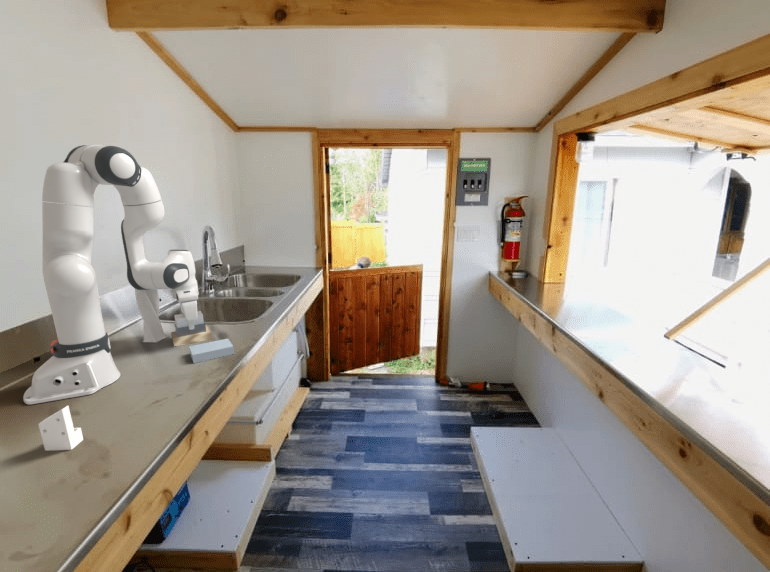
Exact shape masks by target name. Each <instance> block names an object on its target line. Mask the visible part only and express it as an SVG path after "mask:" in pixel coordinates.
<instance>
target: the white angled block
mask: <svg viewBox="0 0 770 572" xmlns="http://www.w3.org/2000/svg"><path fill="white" fill-rule="evenodd" d="M70 411H71V410H70V406H69V405H66V406H65V407H63V408H61V409H60V410H57V411H56V412H55V413H53V414H51V415H49V416H48V417H46V418H45V419H43V420H42V421H40V422H39V423H37V424H38V429H39V433H40V436H41V440H42V443H43V448H44V451H45V452H46V451H48V452H49V451H69V450H70V451H71V450H73V449H74V448H76V447H77V446H78V445H79V444H80V443H81V442H83V441H84V437H83V432H82V427H74V423H73V418H72V415H71V412H70Z"/></svg>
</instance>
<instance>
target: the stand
mask: <svg viewBox="0 0 770 572" xmlns="http://www.w3.org/2000/svg"><path fill="white" fill-rule="evenodd" d="M188 348H189V350H188V351H189V355H190V357H191V360H192V362H193V364H198V363H201V362H206V360H207V361H211V360H215V359H220V358H224V357H227V356H228V355H229V356H233V355H235V347H234V345H233V343H232V342H231V341H230V339H229V338H224V339H218V340H214V341H209V342H204V343H199V344H195V345H190V346H188ZM232 354H233V355H232ZM223 356H224V357H223ZM219 357H220V358H219ZM214 358H215V359H214ZM210 359H211V360H210Z"/></svg>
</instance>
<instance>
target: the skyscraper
mask: <svg viewBox="0 0 770 572" xmlns="http://www.w3.org/2000/svg"><path fill="white" fill-rule="evenodd" d="M134 294H135V301H136V305H137V309H138V311H139V314H140V316H141V318H142V321H143V339H142V340H141V341H140V343H147V344H149V343H151V344H153V343H154V344H157V343H159V342H161V341H163V340H164V339H167V338H168V337H169V335H165V332H164V328H163V326H162V323H161V321H160V317H159V315H160V304H161V303H160V293H159V289H149V290H137V289H135V288H134Z"/></svg>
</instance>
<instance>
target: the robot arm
mask: <svg viewBox="0 0 770 572" xmlns="http://www.w3.org/2000/svg"><path fill="white" fill-rule="evenodd" d="M45 171H46V172H45V175H44V179H43V187H42V198H41V200H42V203H41V204H42V205H41V206H42V207H41V209H42V217H41V218H42V274H43V275H42V277H43V281H44V286H45V291H46V294H47V298H48V302H49V308H50V312H51V315H52V318H53V324H54V328H55V333H56V336H57V339H54V340H52V341H51V342H50V352H51V355H52V356H51V357H50V358H48V359H47V360H46V361H45V362H44V363H43V364H41V366H39V367H38V368H37V369H36V370H35V372H34V373H33V376H32V379H31V385H30V386H29V387H28V388H27V389H26V391H24V394H23V396H22V397H23V398H22V399H23V402H24V404H25V405H28V406H29V405H35V404H42V403H47V402H48V403H49V402H53V401H59V400H65V399H66V400H67V399H69V398H78V397H83V396H88V395H92V394H94V393H96V392H97V391H99V390H101V389H102V388H105V387H107V386H109V385H111V384H113V383H114V382H116V381H117V380H119V378H120V377H121V376H122V375H121V371H119V369H118V368H117V366H116V363H115V361H114V358H113V356H112V353H111V350H112V349H111V348H112V347H111V341H110V337H109V335H108V332H106V329H105V323H104V319H103V318H104V317H103V315H102V314H103V313H102V309H101V301H100V299H101V298H100V293H99V286H98V280H97V274H96V270H95V269H94V267H93V266H92V259H93V257H92V256H93V243H94V242H93V241H94V235H95V232H94V231H95V202H94V201H95V198H94V195H95V191H96V189H97V187H98V186H99V185H103V186H111V185H112V186H113V187H114V188H115V189H116V190H117V192H118V194H119V196H120V200H121V203H122V206H123V212H124V217H123V220H122V221H121V224H120V231H121V233H120V234H121V239H122V240H121V241H122V244H123V251H124V254H125V260H126V277H127V281H128V283H129V284H130V286H131V287H133V289H134V290H135V289H137V290H149V289H158V290H171V293H172V295H171V296H172V299H175V300H176V301H177V303H179V306H180V311H181V312H182V314H183V315H184V317H185V319H186V321H187V322H188V326H189V329H190V330H192V329H194V321H196V320H197V311H198V300H199V295H200V292H199V285H198V280H197V279H196V273H197V272H196V265H195V260H194V256H193V254H192V252H191V251H190V250H189V249H169V250H168V251H167V256H166V258H165V259H163V260H162V261H149V260H148V259H147V258H146V254H145V246H144V242H143V240H144V239H143V237H144V234H145V233H147V232H148V231H150V230H153V229H154V228H156V227H159V225H160V224H162V222H163V221H164V219H165V216H166V211H165V206H164V202H163V199H162V195H161V193H160V190H159V187H158V184H157V183H156V181H155V178H154V176H153V175H152V172H150V170H148V169H147V168H146V167H144V166H141V165H140V164H139V163H138V161H137V159H136V158H135V157H134V155H133V154H131V152H129V151H128V150H126V149H124V148H122V147H119V146H115V145H104V144H88V145H85V144H82V145H78V146H76V147H74V148H72V149H71V150H70V151H69V152H68V154H67V155H66V158H65V159H64V161H63V162H55V163H53V164H50V165H49V166H48V167H47V168H46V170H45Z"/></svg>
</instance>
